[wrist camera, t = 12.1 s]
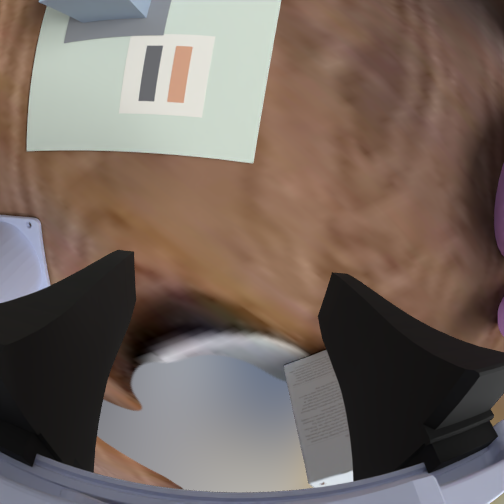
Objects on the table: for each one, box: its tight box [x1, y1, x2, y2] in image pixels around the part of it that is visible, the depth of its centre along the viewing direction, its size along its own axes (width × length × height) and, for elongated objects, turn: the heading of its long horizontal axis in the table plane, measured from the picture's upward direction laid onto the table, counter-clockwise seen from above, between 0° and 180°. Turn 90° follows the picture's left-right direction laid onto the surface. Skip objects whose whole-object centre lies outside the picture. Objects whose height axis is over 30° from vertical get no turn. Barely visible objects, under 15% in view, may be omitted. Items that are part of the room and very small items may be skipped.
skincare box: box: [284, 350, 353, 488], centre depth 21 cm, size 6×4×12 cm
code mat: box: [27, 0, 281, 163], centre depth 13 cm, size 16×16×1 cm
